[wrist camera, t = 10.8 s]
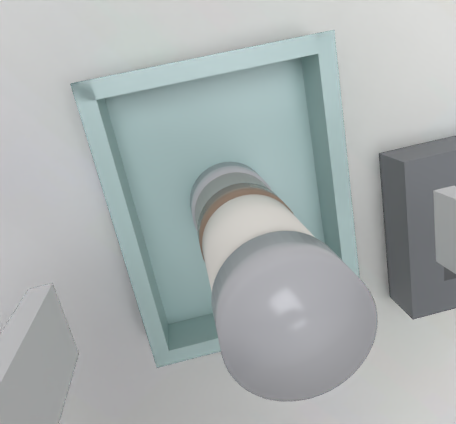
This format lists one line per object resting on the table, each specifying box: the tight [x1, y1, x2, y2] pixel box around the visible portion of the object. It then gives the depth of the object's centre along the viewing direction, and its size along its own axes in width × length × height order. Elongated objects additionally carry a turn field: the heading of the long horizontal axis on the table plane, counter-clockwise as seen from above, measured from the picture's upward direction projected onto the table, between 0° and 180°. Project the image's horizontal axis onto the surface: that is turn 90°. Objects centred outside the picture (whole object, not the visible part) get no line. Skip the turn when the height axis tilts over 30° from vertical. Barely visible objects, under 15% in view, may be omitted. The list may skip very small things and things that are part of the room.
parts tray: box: [71, 30, 360, 368], centre depth 21 cm, size 11×14×3 cm
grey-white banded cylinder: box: [190, 162, 377, 401], centre depth 16 cm, size 4×4×12 cm
